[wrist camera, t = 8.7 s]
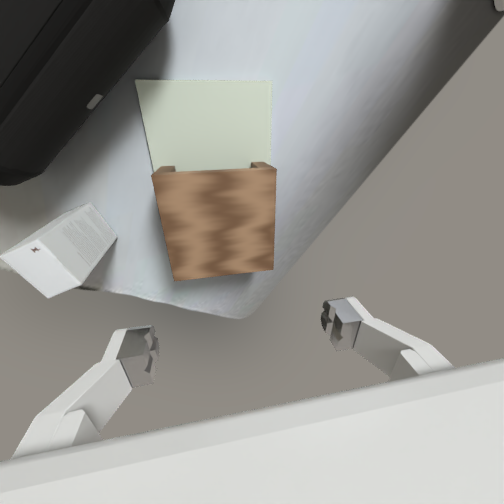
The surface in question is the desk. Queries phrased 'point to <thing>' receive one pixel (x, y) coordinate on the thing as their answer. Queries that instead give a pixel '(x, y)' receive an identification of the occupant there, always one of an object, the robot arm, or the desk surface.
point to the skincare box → (62, 251)
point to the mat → (206, 123)
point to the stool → (217, 219)
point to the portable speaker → (62, 70)
